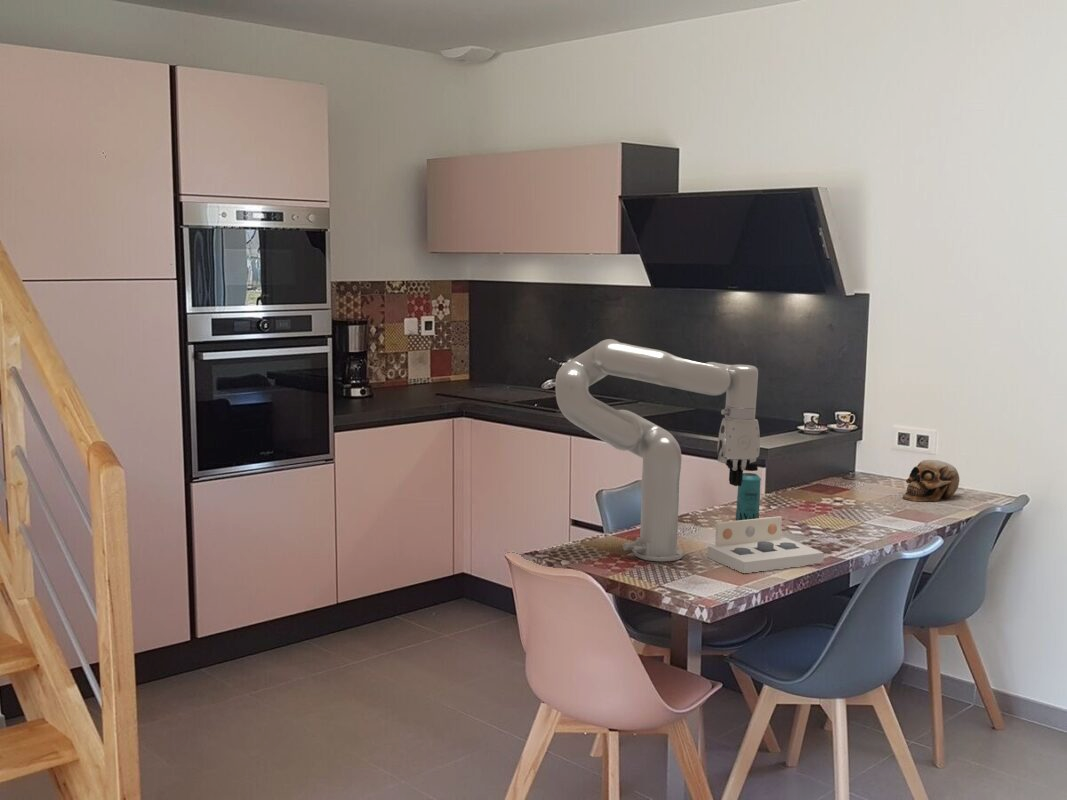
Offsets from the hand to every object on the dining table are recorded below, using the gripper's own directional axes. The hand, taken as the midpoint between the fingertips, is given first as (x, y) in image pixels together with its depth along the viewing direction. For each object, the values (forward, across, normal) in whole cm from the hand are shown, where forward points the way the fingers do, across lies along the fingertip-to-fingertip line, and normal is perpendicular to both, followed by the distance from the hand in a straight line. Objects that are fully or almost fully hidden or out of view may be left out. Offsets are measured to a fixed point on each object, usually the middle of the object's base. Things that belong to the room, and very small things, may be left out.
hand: (735, 484), depth 273 cm
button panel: (+19, +7, -6) cm, 21 cm away
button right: (+18, +14, -5) cm, 23 cm away
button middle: (+17, +7, -6) cm, 19 cm away
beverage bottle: (+19, +18, +21) cm, 34 cm away
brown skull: (+17, +100, +42) cm, 110 cm away
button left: (+18, 0, -6) cm, 19 cm away
